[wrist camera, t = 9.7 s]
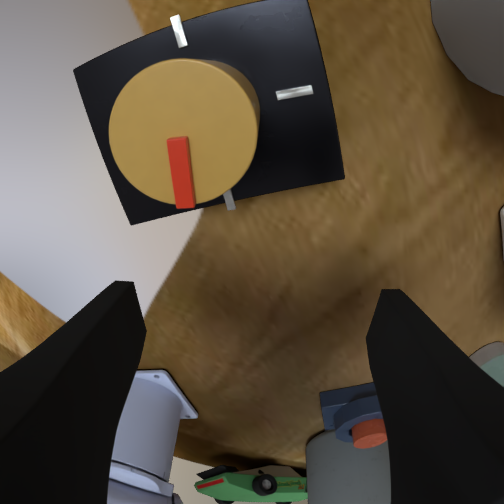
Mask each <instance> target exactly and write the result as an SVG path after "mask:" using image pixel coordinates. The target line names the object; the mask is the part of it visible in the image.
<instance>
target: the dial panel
mask: <svg viewBox="0 0 504 504" xmlns="http://www.w3.org/2000/svg"><path fill="white" fill-rule="evenodd" d="M170 19H171V23H172V25H171V26H168V27H165V28H163V29H160V30H157V31H155V32H152V33H150V34H147V35H145V36H142V37H140V38H137V39H135V40H133V41H130V42H128V43H126V44H123V45H121V46H119V47H117V48H115V49H113V50H111V51H108V52H106V53H104V54H102V55H100V56H98V57H96V58H94V59H92V60H90V61H88V62H86V63H84V64H82V65H81V66H79V67H77V68H75V69H74V70H73V72H74V75H75V78H76V81H77V85H78V88H79V91H80V94H81V97H82V100H83V103H84V106H85V109H86V112H87V115H88V118H89V121H90V124H91V127H92V130H93V132H94V135H95V138H96V141H97V143H98V146H99V149H100V151H101V154H102V157H103V159H104V162H105V165H106V167H107V170H108V172H109V175H110V177H111V180H112V182H113V185H114V187H115V190H116V192H117V194H118V197H119V199H120V202H121V204H122V206H123V209H124V211H125V213H126V215H127V218H128V220H129V222H130V225H135V224H139V223H143V222H147V221H151V220H155V219H158V218H163V217H167V216H171V215H175V214H179V213H183V212H187V211H191V210H196V209H200V208H204V207H209V206H213V205H218V204H222V203H226V205H227V209H228V211H229V210H234V209H236V205H235V201H236V200H240V199H245V198H249V197H254V196H259V195H264V194H269V193H274V192H278V191H283V190H289V189H294V188H299V187H304V186H309V185H315V184H320V183H325V182H331V181H337V180H342V179H345V175H344V168H343V161H342V154H341V148H340V142H339V136H338V130H337V124H336V119H335V113H334V108H333V103H332V98H331V93H330V88H329V83H328V79H327V74H326V70H325V65H324V61H323V56H322V52H321V48H320V44H319V40H318V36H317V32H316V28H315V24H314V21H313V17H312V13H311V10H310V6H309V3H308V0H262V1H257V2H252V3H247V4H243V5H239V6H235V7H231V8H227V9H223V10H219V11H215V12H212V13H208V14H205V15H202V16H198V17H195V18H192V19H189V20H186V21H183V22H181V18H180V15H176V16H173V17H170ZM179 58H186V59H201V60H212V61H218V62H222V63H225V64H227V65H230V66H231V67H233V68H235V69H237V70H238V71H239V72H241V73H242V74H243V75H244V76H245V77H246V78H247V79H248V80H249V82H250V83H251V84H252V86H253V88H254V89H255V92H256V94H257V97H258V100H259V105H260V122H259V131H258V140H257V146H256V150H255V154H254V157H253V160H252V162H251V164H250V166H249V168H248V169H247V171H246V173H245V174H244V176H243V177H242V178H241V179H240V180H239V181H238V183H237V184H235V185H234V186H233V187H232V188H231V189H230V190H228V191H227V192H225V193H224V194H222V195H220V196H219V197H217V198H215V199H212V200H209V201H207V202H203V203H198V204H196V205H195V207H194V208H181V209H177V208H176V204H169V203H165V202H161V201H159V200H156V199H153V198H151V197H149V196H147V195H145V194H144V193H142V192H141V191H139V190H138V189H137V188H136V187H134V186H133V185H132V184H131V183H130V182H129V181H128V180H127V179H126V177H125V176H124V175H123V174H122V172H121V171H120V169H119V167H118V165H117V164H116V162H115V159H114V157H113V154H112V151H111V147H110V141H109V122H110V116H111V112H112V109H113V106H114V103H115V101H116V99H117V97H118V95H119V94H120V92H121V90H122V89H123V88H124V86H125V85H126V84H127V83H128V82H129V81H130V80H131V79H132V78H133V77H134V76H135V75H136V74H138V73H139V72H140V71H142V70H143V69H145V68H147V67H149V66H151V65H153V64H156V63H158V62H161V61H165V60H170V59H179Z"/></svg>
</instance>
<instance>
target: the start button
mask: <svg viewBox="0 0 504 504" xmlns="http://www.w3.org/2000/svg"><path fill="white" fill-rule="evenodd" d="M351 432H352V439H353V446H354V447H356V448H360V449H364V448H371V447H375V446H378V445H380V444H382V443H384V442H385V441H387V435H386V429H385V425H384V421H383V419H372V420H367V421H363V422H361V423H359V424H357V425H354V426H353V427H352V428H351Z"/></svg>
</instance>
